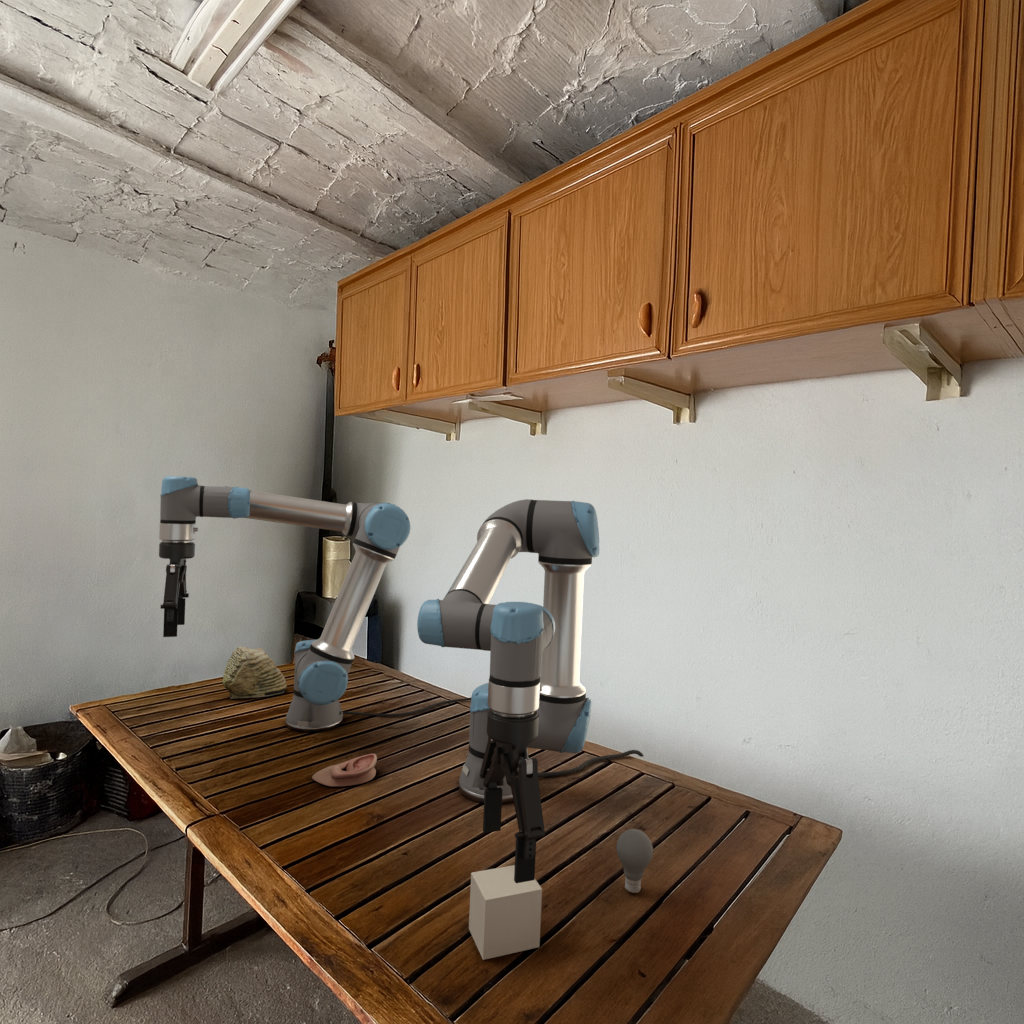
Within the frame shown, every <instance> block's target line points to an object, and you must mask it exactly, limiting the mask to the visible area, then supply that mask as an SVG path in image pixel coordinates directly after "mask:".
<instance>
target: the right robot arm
mask: <svg viewBox="0 0 1024 1024" xmlns="http://www.w3.org/2000/svg"><path fill="white" fill-rule="evenodd" d="M599 530H600V529H599V521H598V515H597V511H596V508H595V507H594V505H593V504H591V503H589V502H584V501H575V500H550V499H549V500H547V499H528V498H526V499H519V500H516V501H512V502H510V503H508V504H505V505H504V506H502V507H500V508H498V509H497V510H495V511H494V512H493V513H491V514H490V515H489V516H488V517H487V518H485V520H484V521H483V523H482V524H481V526H480V527H479V529H478V531H477V534H476V543H475V545H474V547H473V549H472V550H471V552H470V554H469V555H468V557H467V559H466V560H465V562H464V563H463V566H462V567H461V569H460V570H459V572H458V574H457V576H456V577H455V579H454V581H453V582H452V584H451V586H450V587H449V589H448V591H447V592H446V594H445V596H444V597H443V599H440V598H436V599H427V600H425V601H423V603H421V605H420V607H419V610H418V614H417V622H416V627H417V635H418V638H419V640H420V641H421V642H422V643H423V644H424V645H425V644H426V645H432V646H439V647H441V648H453V649H454V648H455V649H466V650H479V651H486V652H490V653H489V655H490V657H489V658H490V659H489V678H488V682H487V683H482V684H481V685H478V686H477V687H476V688H475V689H474V690H473V691H472V693H471V697H470V698H471V700H470V707H469V731H468V732H469V733H468V736H469V737H468V752H467V753H468V754H467V756H466V759H465V762H464V763H463V765H462V769H461V772H460V775H459V778H458V790H459V792H460V794H462V795H463V796H464V797H465V798H467V799H469V800H471V801H474V802H476V803H481V804H483V817H482V832H483V833H484V834H488V833H494V832H501V829H502V811H503V810H502V809H503V804H509V803H513V806H514V812H515V817H516V822H517V827H518V831H517V832H516V833H514V838H515V851H514V865H515V870H514V881H515V883H521V882H527V881H532V880H534V878H535V875H536V854H537V839H540V838H545V836H546V831H545V830H546V829H545V823H544V822H545V821H544V815H543V806H542V799H541V790H540V782H539V778H549V777H561V776H566V775H567V776H568V775H572V774H574V773H577V772H580V771H582V770H583V769H584V768H585V767H587V766H589V765H591V764H593V763H594V764H595V763H597V762H601V761H607V760H613V759H622V758H625V757H628V756H630V755H637V756H638V757H642V758H643V757H644V756H645V755H644V754H643V752H641V751H640V750H638V749H629V750H626V751H624V752H621V753H615V754H607V755H601V756H597V757H593V758H590V759H588V760H586V761H584V762H582V763H581V764H580V765H578V766H575V767H572V768H569V769H565V770H557V771H547V772H539V761H538V758H537V757H530V755H529V752H528V751H529V749H534V750H535V749H537V750H544V751H551V752H558V753H559V754H563V753H570V754H578V753H580V752H582V751H583V749H584V747H585V743H586V738H587V735H588V730H589V726H590V720H591V716H592V715H591V714H592V709H593V699H592V698H589V697H586V696H587V689H586V687H585V686H584V685H583V684H582V683H581V681H580V678H581V677H580V675H581V656H582V655H581V654H582V632H583V609H584V585H585V572H586V571H587V570H588V569H589V568H590V567H591V566H592V565H593V558H597V557H599V555H600V531H599ZM519 553H529V554H531V553H532V554H538V555H537V557H538V559H537V563H538V564H539V565H540V566H541V567H542V569H543V571H544V577H543V581H544V583H543V604H542V605H540V604H536V603H533V602H527V601H505V602H498V603H497V604H491V603H490V602H491V601H492V598H493V595H494V593H495V591H496V590H497V588H498V586H499V583H500V582H501V579H502V577H503V575H504V573H505V570H506V569H507V567H508V565H509V563H510V561H511V560H512V559H514V558H515V557H516V556H517V555H518V554H519ZM528 748H529V749H528ZM535 879H536V878H535Z"/></svg>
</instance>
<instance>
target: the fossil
mask: <svg viewBox="0 0 1024 1024" xmlns="http://www.w3.org/2000/svg"><path fill="white" fill-rule="evenodd" d="M222 676H223V677H222V685H223V687H224V688H225V690H226V691H228V693H229V698H230V699H250V698H264V697H271V696H275V695H281V694H284V693H285V691H286V689H287V687H288V686H287V680H286V678H285V676H284V674H283V673H282V672H281V669H279V668H278V667H277V665H276V663H275V662H274V660H273V659H272V658H271V657H270V656H269V655H268V654H267V653H266V652H265V650H264V649H263V648H260V647H258V648H251V647H247V646H246V647H245V646H238V647H237V648H236V649H235V650H233V651H232V653H231V656H230V657H229V659H228V660H227V663H226V666H225V668H224V671H223V675H222Z"/></svg>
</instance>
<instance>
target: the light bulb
mask: <svg viewBox="0 0 1024 1024" xmlns="http://www.w3.org/2000/svg"><path fill="white" fill-rule="evenodd" d="M615 849H616V854H617V857H618V859H619V861H620V863H621V865H622V867H623V873H624V874H623V875H624V876H625V878H624V888H625V890H627V891H628V892H630V893H634V894H635V893H639V892H640V891H641V889H642V887H641V886H642V879H643V877H644V875H645V871H646V868H647V867H648V866H649V864H650V863H651V861H652V859H653V855H654V847H653V843H652V841H651V838H649V836H648V835H647V834H646V833H645V832H643V831H642V830H641V829H636V828H629V829H627V830H625V831H623V832H622V833H621V834H620V835H619V837H618V839H617V841H616V847H615Z"/></svg>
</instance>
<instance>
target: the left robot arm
mask: <svg viewBox="0 0 1024 1024" xmlns="http://www.w3.org/2000/svg"><path fill="white" fill-rule="evenodd" d="M159 506H160V507H159V509H160V510H159V512H160V514H159V531H158V533H159V534H158V538H159V540H160V543H158V557H159V558H160V559H163V560H164V559H165V560H169V564H166V566H165V573H166V574H165V583H164V593H163V603H162V604H160V609H163V630H162V631H163V632H162V638H176V637H178V626H184V625H185V624H186V623H185V622H186V598H189V597H190V593H188V590H187V570H188V565H187V559H188V560H190V559H194V557H195V555H196V544H195V542H193V541H194V540H196V533H197V532H199V527H196V522H197V521H196V520H197V518H205V517H206V518H219V519H220V518H222V519H224V518H225V519H227V518H228V519H248V520H249V519H250V520H255V521H256V520H257V521H264V522H271V523H278V524H285V525H293V526H300V527H308V528H314V529H322V530H327V531H328V530H329V531H334V532H335V531H336V532H341V533H342V534H343V535H344V536H346V537H352V538H354V541H353V543H352V546H353V548H354V550H355V553H354V556H353V558H352V561H351V563H350V565H349V568H348V570H347V572H346V575H345V577H344V580H343V582H342V585H341V587H340V590H339V592H338V594H337V597H336V599H335V601H334V603H333V606H332V608H331V610H330V614H329V615H328V618H327V620H326V623H325V625H324V628H323V630H322V632H321V635H320V636H319V638H317V639H307V640H301V641H298V642H297V643H295V648H294V649H295V650H294V672H293V673H294V674H293V675H294V679H293V695H292V696H293V697H292V699H291V702H290V704H289V708H288V711H287V713H286V715H285V726H286V728H287V729H289V730H291V731H294V732H295V731H296V732H301V733H316V732H325V731H329V730H332V729H335V728H337V727H339V726H340V725H342V723H343V722H344V715H354V716H367V717H368V716H369V717H370V716H371V717H402V716H408V715H412V714H413V715H414V714H417V713H420V712H424V711H428V710H430V709H432V708H434V707H438V706H442V705H446V704H450V703H455V702H466V701H471V697H465V698H456V699H449V700H444V701H440V702H436V703H434V704H431V705H427V706H426V707H423V708H419V709H416V710H412V711H407V712H399V713H376V712H375V713H374V712H360V711H343V709H342V706H341V702H340V698H342V696H343V695H344V694H345V692H346V690H347V688H348V683H349V676H348V674H349V673H350V670H351V668H352V664H353V663H354V660H355V655H354V652H353V647H354V645H355V642H356V639H357V637H358V634H359V632H360V629H361V627H362V625H363V623H364V621H365V617H366V615H367V613H368V610H369V608H370V606H371V602H372V600H373V598H374V595H375V594H376V591H377V589H378V586H379V583H380V581H381V578H382V576H383V574H384V571H385V569H386V566H387V564H389V563H391V562H393V561H395V560H396V557H397V555H398V552H399V550H400V548H401V546H403V545H404V544H405V542H406V541H407V540H408V538H409V535H410V533H411V521H410V519H409V516H408V514H407V513H406V512H405V510H403V509H402V508H401V507H400V506H398V505H397V504H393V503H390V502H355V501H349V502H348V503H346V504H344V503H338V502H330V501H325V500H317V499H311V498H303V497H297V496H292V495H291V496H290V495H284V494H277V493H271V492H266V491H265V492H264V491H257V490H251V489H250V488H248V487H240V486H225V485H224V486H212V485H211V486H210V485H208V486H207V485H199V483H198V479H197V478H196V477H193V476H178V475H177V476H176V475H166V476H165V477H163V478H162V481H161V491H160V505H159Z"/></svg>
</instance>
